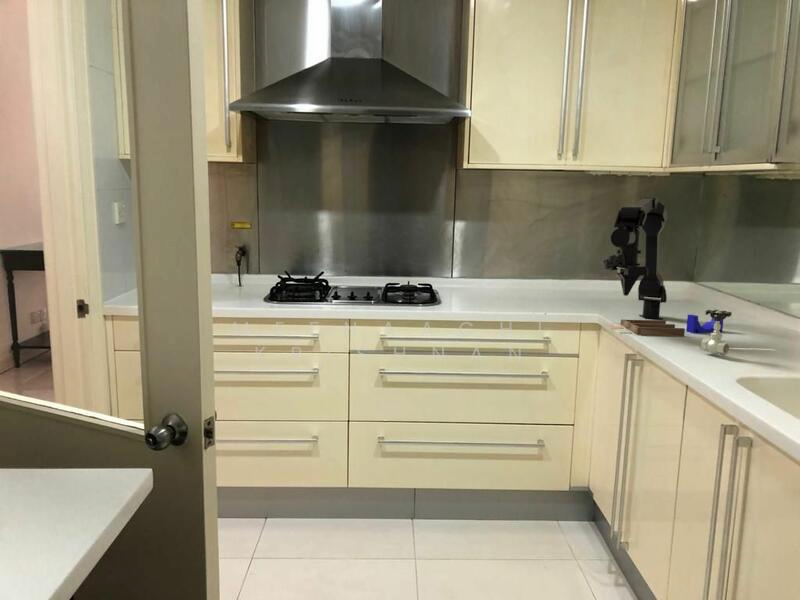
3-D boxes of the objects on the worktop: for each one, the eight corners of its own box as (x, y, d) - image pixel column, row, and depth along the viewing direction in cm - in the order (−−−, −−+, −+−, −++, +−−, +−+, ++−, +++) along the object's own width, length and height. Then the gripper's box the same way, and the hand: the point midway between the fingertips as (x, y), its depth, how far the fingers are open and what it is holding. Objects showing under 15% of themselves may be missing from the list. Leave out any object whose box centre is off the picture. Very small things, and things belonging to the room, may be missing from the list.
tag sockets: (605, 326, 220) (606, 319, 220) (664, 327, 221) (664, 320, 221) (621, 335, 205) (622, 327, 205) (684, 336, 206) (684, 328, 206)
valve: (710, 350, 187) (714, 309, 185) (732, 355, 181) (736, 312, 179) (696, 352, 183) (700, 310, 182) (718, 357, 178) (722, 314, 176)
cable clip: (711, 330, 219) (713, 312, 218) (722, 332, 215) (723, 314, 214) (682, 331, 215) (684, 313, 214) (692, 334, 211) (694, 316, 210)
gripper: (594, 244, 215) (591, 291, 217) (614, 247, 196) (610, 298, 198) (628, 245, 215) (624, 292, 217) (650, 248, 197) (646, 299, 199)
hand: (625, 295), depth 208 cm, fingers closed
